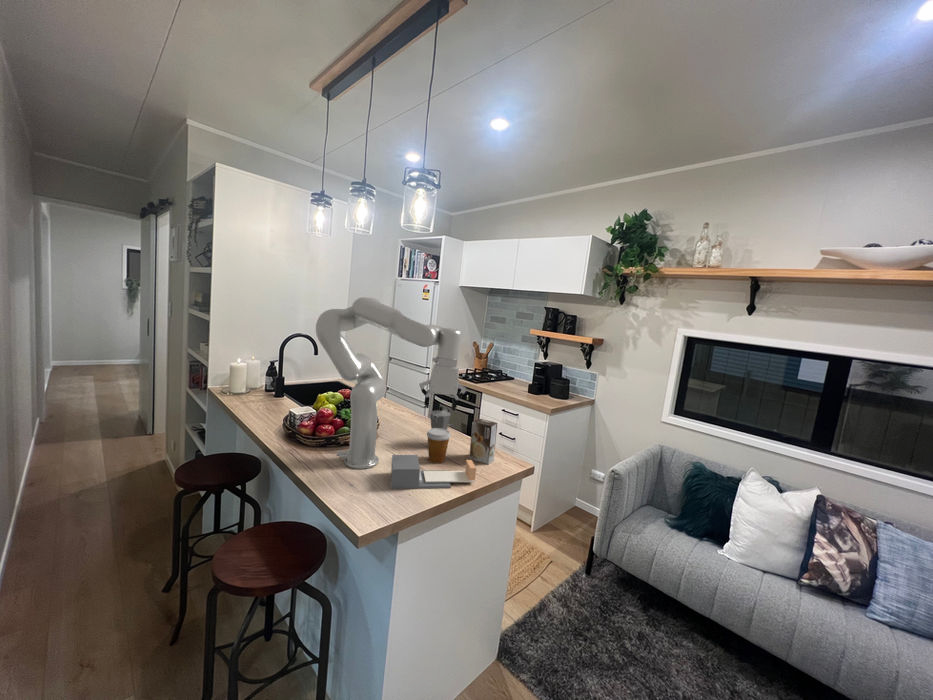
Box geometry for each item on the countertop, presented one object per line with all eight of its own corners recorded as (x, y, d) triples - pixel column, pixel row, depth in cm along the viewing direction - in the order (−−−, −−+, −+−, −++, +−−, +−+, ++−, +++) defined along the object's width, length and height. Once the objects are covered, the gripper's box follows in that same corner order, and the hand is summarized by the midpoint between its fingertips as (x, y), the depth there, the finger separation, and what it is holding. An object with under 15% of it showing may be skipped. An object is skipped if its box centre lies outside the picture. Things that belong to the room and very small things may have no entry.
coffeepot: (441, 453, 157) (444, 412, 155) (421, 448, 160) (424, 408, 158) (455, 442, 171) (458, 404, 169) (437, 438, 175) (440, 400, 173)
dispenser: (391, 488, 123) (392, 469, 123) (391, 472, 135) (392, 454, 134) (450, 488, 128) (452, 469, 127) (445, 472, 139) (447, 455, 139)
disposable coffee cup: (444, 467, 144) (447, 437, 143) (421, 462, 146) (423, 433, 144) (450, 457, 153) (453, 429, 152) (428, 454, 155) (431, 426, 154)
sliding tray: (425, 482, 128) (426, 468, 127) (423, 472, 135) (424, 459, 135) (474, 482, 131) (476, 468, 131) (470, 471, 139) (471, 459, 139)
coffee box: (494, 459, 155) (498, 422, 153) (488, 464, 150) (492, 426, 148) (475, 454, 159) (478, 417, 158) (468, 458, 154) (471, 421, 152)
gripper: (423, 361, 128) (417, 409, 130) (471, 367, 132) (464, 413, 134) (421, 358, 136) (415, 403, 138) (467, 363, 139) (461, 407, 141)
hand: (440, 408), depth 136 cm, fingers open, 9 cm apart
